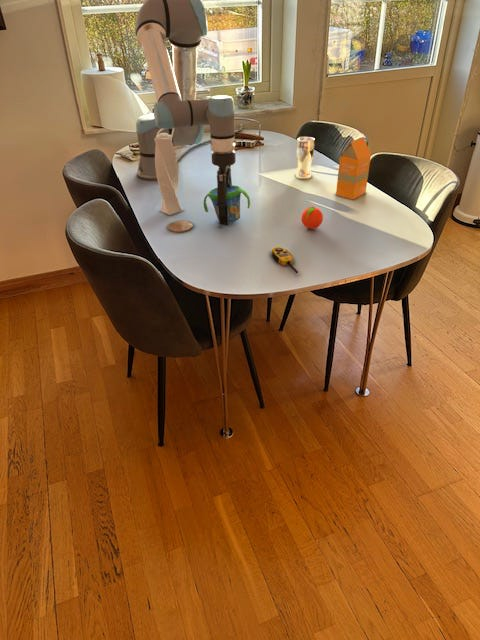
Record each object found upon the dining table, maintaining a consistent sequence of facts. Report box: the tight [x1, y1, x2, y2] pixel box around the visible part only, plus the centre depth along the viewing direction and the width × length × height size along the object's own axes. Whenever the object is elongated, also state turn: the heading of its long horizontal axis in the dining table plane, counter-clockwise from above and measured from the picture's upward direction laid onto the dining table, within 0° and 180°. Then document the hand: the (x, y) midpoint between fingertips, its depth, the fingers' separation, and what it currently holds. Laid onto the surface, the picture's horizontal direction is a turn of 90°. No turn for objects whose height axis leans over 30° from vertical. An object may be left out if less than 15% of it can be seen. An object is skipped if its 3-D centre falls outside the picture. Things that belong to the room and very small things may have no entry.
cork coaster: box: [167, 220, 193, 233], centre depth 157 cm, size 8×8×1 cm
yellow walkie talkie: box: [271, 246, 299, 274], centre depth 136 cm, size 5×2×15 cm
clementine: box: [300, 206, 324, 230], centre depth 153 cm, size 8×7×7 cm
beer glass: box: [295, 136, 315, 180], centre depth 191 cm, size 7×7×15 cm
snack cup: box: [203, 184, 251, 223], centre depth 157 cm, size 16×10×10 cm
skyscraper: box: [154, 128, 183, 216], centre depth 160 cm, size 8×8×28 cm
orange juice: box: [335, 136, 372, 200], centre depth 173 cm, size 8×9×20 cm
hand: (225, 218), depth 160 cm, fingers closed on snack cup, 9 cm apart
